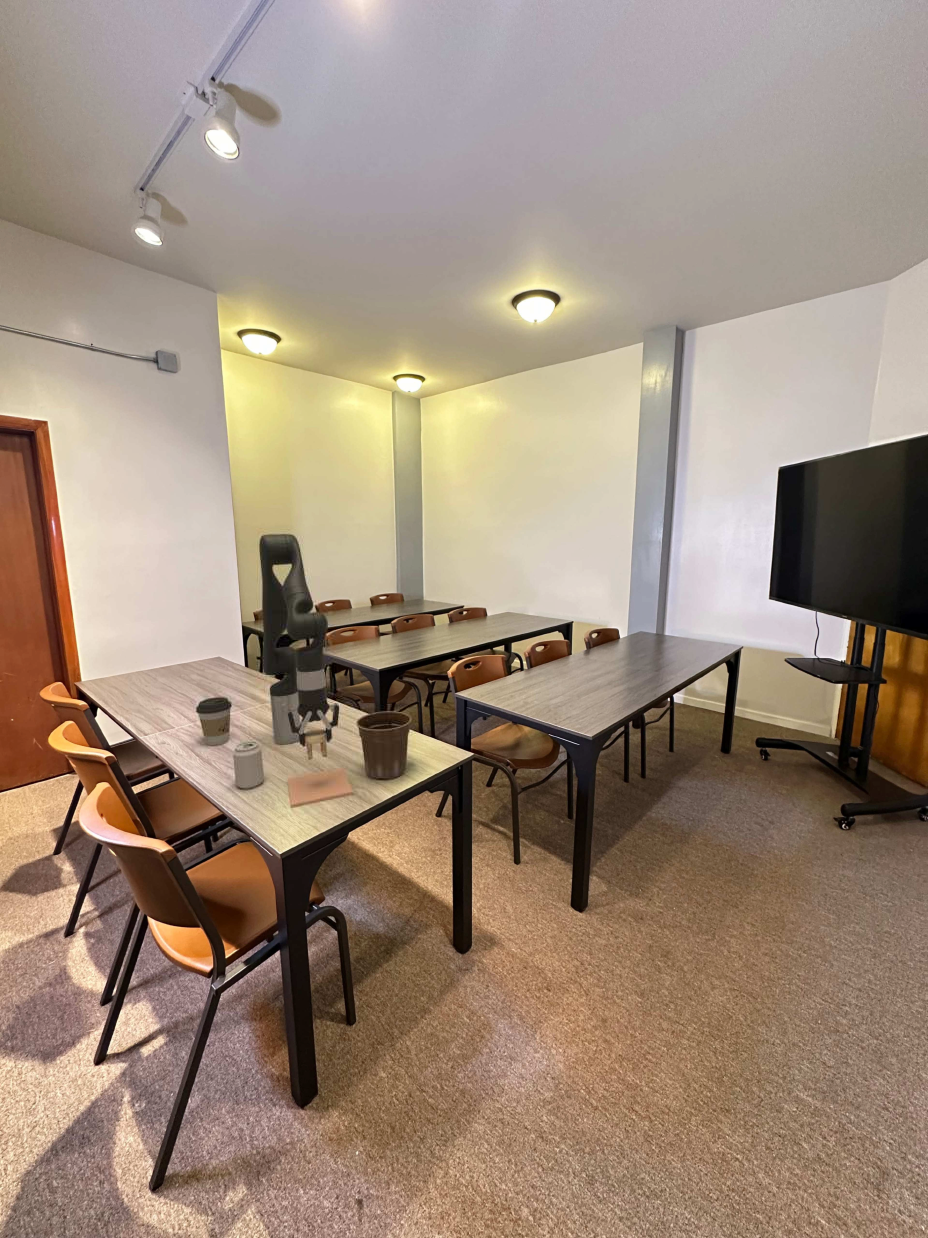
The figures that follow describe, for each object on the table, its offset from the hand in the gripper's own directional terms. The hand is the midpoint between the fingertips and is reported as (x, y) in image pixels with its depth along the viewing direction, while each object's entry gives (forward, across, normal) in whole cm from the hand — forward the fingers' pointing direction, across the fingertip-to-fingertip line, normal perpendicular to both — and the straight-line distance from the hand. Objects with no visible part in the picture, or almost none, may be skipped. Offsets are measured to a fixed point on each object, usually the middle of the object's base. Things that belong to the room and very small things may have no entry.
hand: (315, 743), depth 135 cm
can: (+13, +18, -11) cm, 25 cm away
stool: (+3, 0, 0) cm, 3 cm away
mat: (+13, 0, 0) cm, 13 cm away
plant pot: (+13, -20, -2) cm, 24 cm away
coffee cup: (+13, +29, -50) cm, 59 cm away
